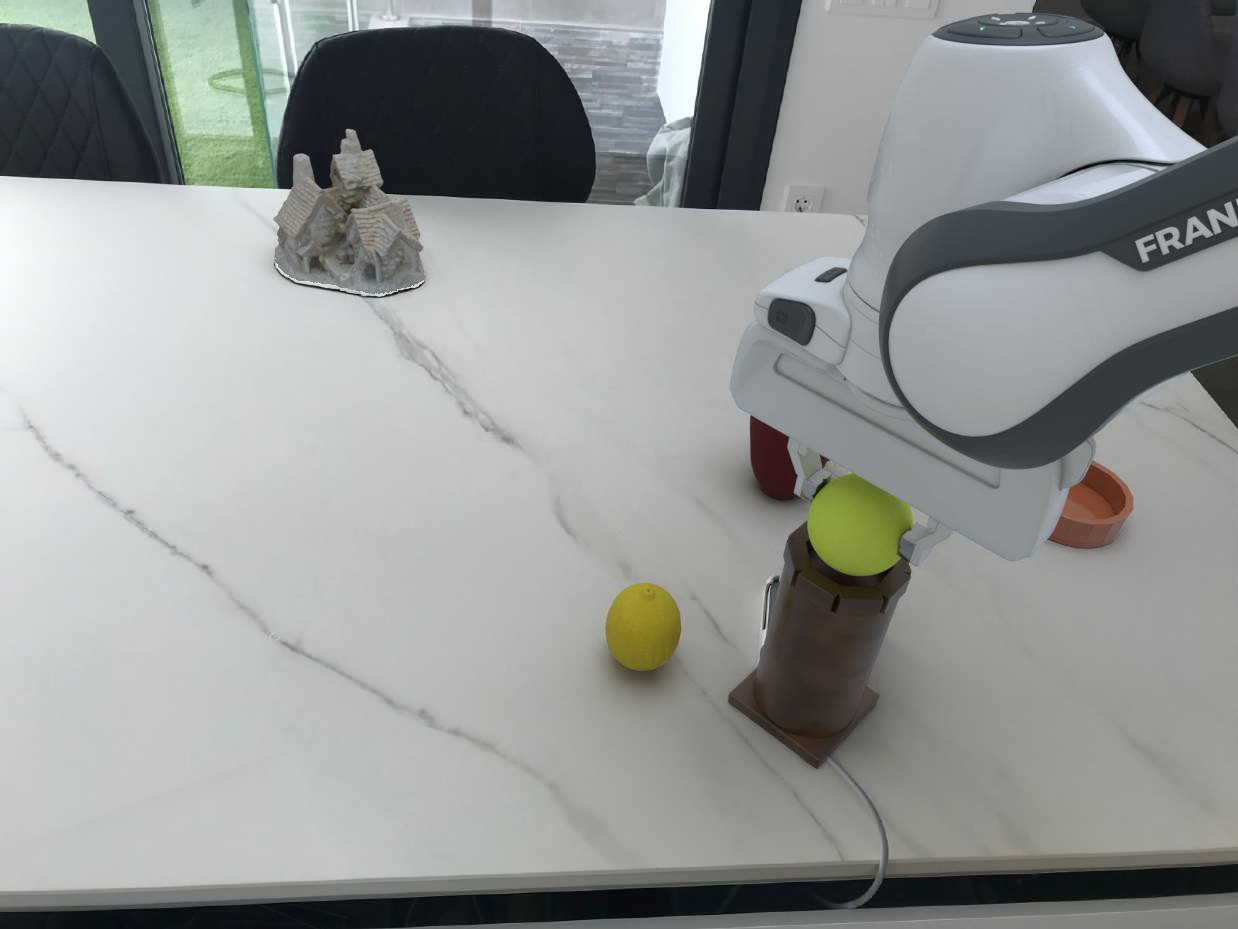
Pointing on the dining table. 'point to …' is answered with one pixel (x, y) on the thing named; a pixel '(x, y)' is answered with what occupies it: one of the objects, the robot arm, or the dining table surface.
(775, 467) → the mug
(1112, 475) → the terracotta dish
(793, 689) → the brown toy castle tower
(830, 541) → the tennis ball
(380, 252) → the ceramic cottage
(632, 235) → the dining table surface
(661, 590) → the lemon
